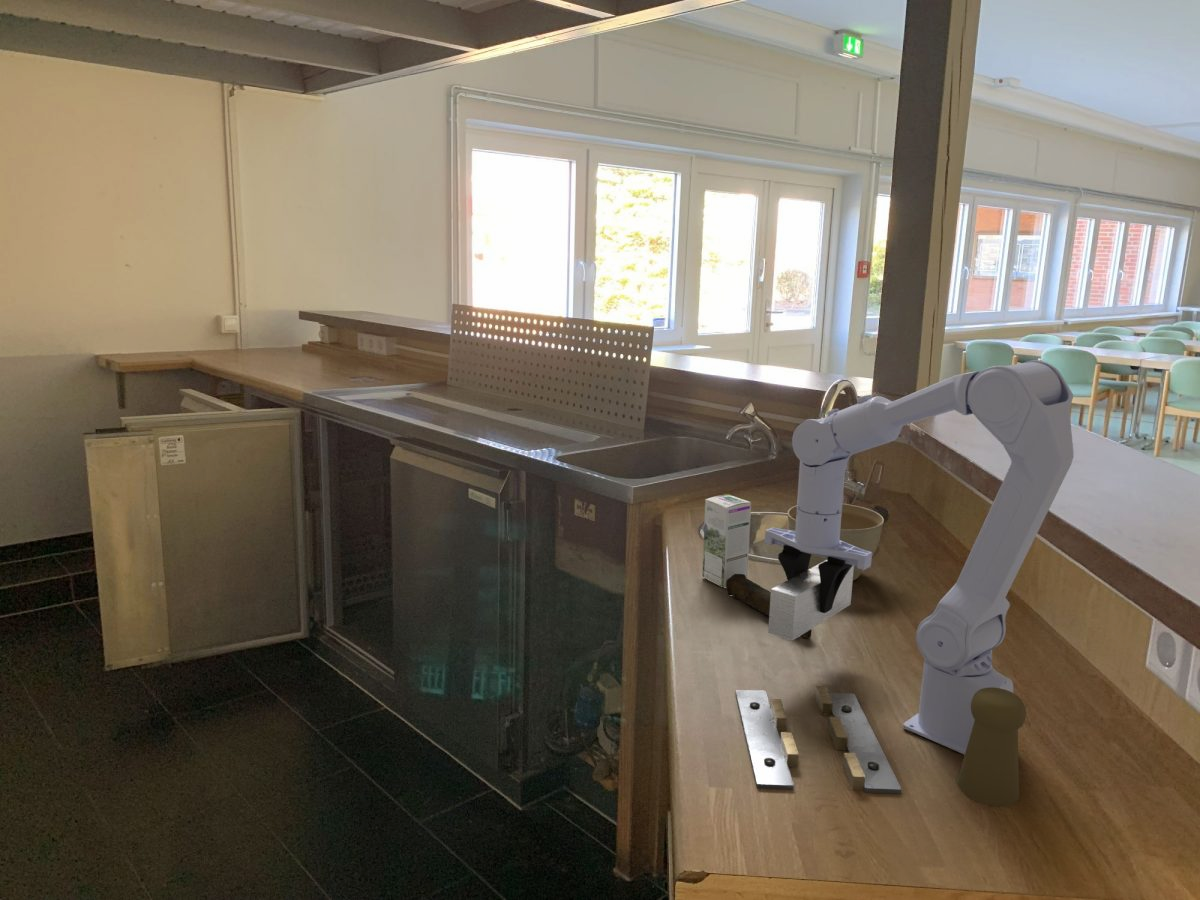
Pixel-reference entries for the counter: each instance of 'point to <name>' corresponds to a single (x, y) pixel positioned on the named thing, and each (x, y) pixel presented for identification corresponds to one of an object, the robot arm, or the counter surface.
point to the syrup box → (726, 538)
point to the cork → (993, 748)
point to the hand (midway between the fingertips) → (811, 606)
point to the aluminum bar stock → (804, 603)
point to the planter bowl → (851, 530)
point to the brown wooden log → (752, 594)
